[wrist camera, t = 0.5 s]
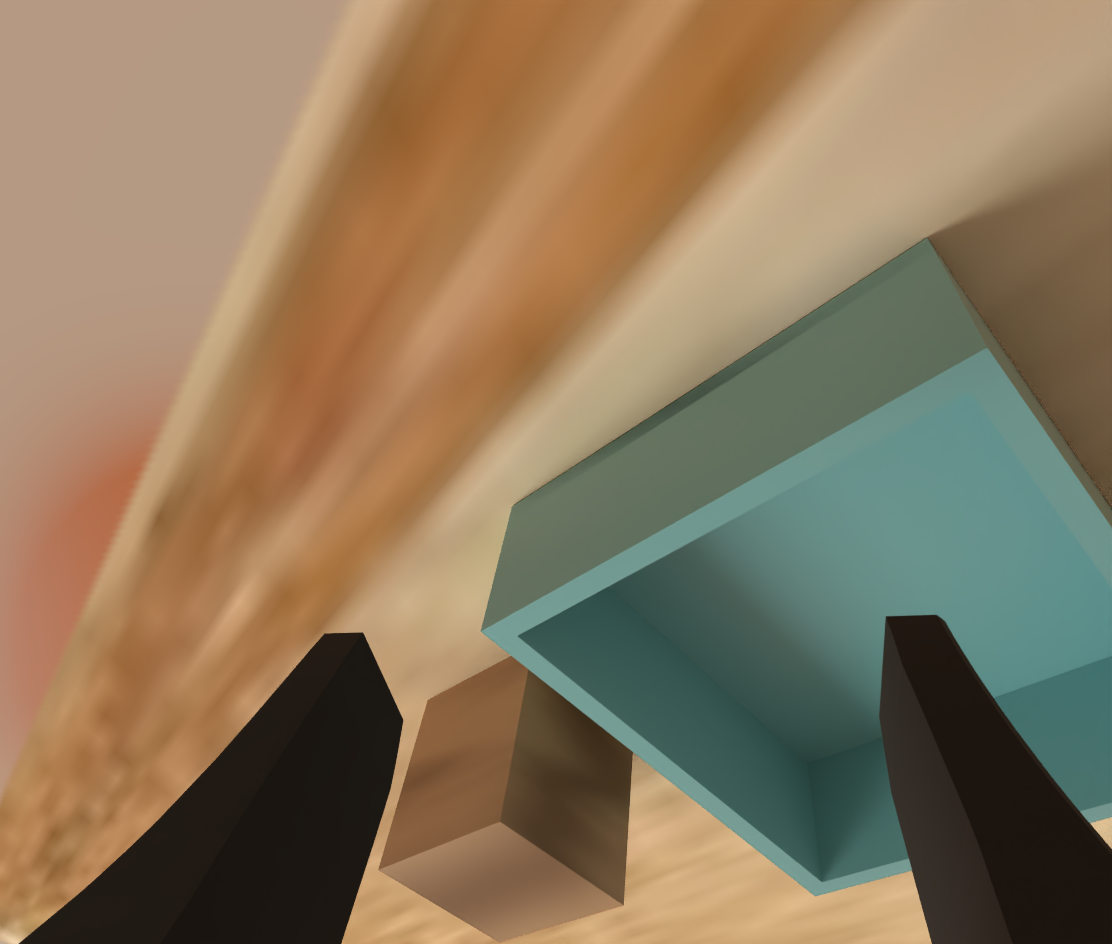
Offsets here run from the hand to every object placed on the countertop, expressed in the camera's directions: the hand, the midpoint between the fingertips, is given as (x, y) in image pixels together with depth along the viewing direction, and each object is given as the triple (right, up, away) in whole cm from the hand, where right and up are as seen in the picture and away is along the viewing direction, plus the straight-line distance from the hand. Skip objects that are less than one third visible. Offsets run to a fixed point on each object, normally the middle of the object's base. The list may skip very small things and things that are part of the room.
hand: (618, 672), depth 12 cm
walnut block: (-2, -5, +17) cm, 18 cm away
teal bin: (+7, 0, +11) cm, 13 cm away
